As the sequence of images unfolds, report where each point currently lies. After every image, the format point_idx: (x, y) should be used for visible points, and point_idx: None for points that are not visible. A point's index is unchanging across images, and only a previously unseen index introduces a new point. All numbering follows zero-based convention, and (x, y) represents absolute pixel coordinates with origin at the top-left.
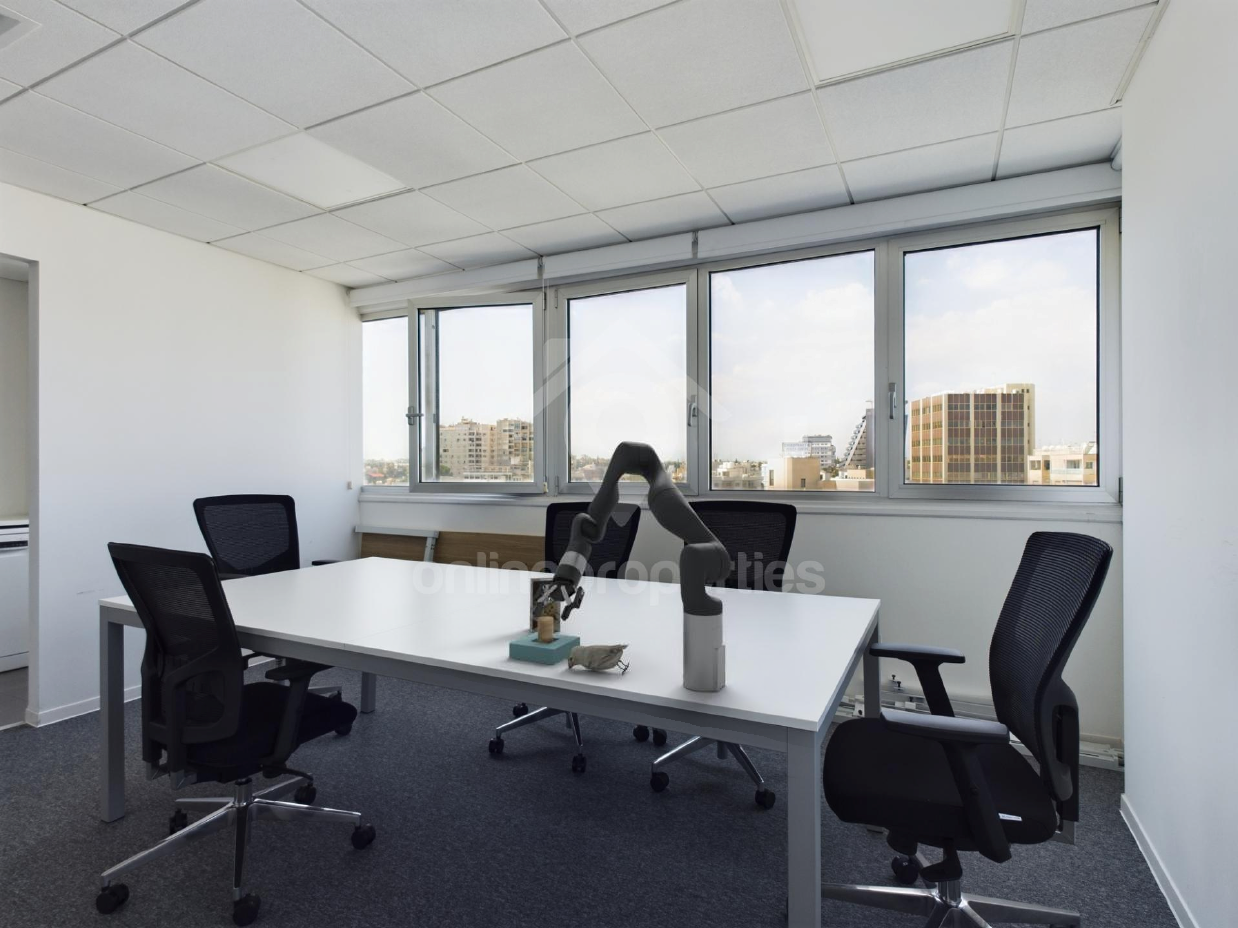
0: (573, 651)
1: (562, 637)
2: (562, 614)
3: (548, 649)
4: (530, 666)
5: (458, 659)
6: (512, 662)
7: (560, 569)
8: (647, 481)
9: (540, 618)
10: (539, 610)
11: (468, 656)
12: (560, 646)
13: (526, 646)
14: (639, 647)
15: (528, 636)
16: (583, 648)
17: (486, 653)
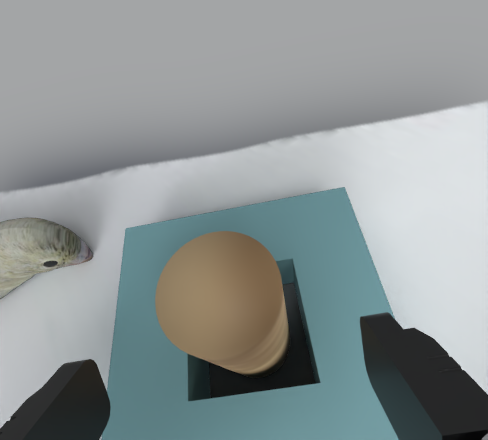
0: (27, 218)
1: (191, 438)
2: (64, 372)
3: (152, 226)
4: (209, 201)
5: (452, 124)
6: (286, 196)
7: None
8: None
9: (242, 252)
10: (387, 379)
11: (466, 155)
12: (121, 278)
13: (255, 206)
14: None
15: None
16: None
17: (460, 210)
